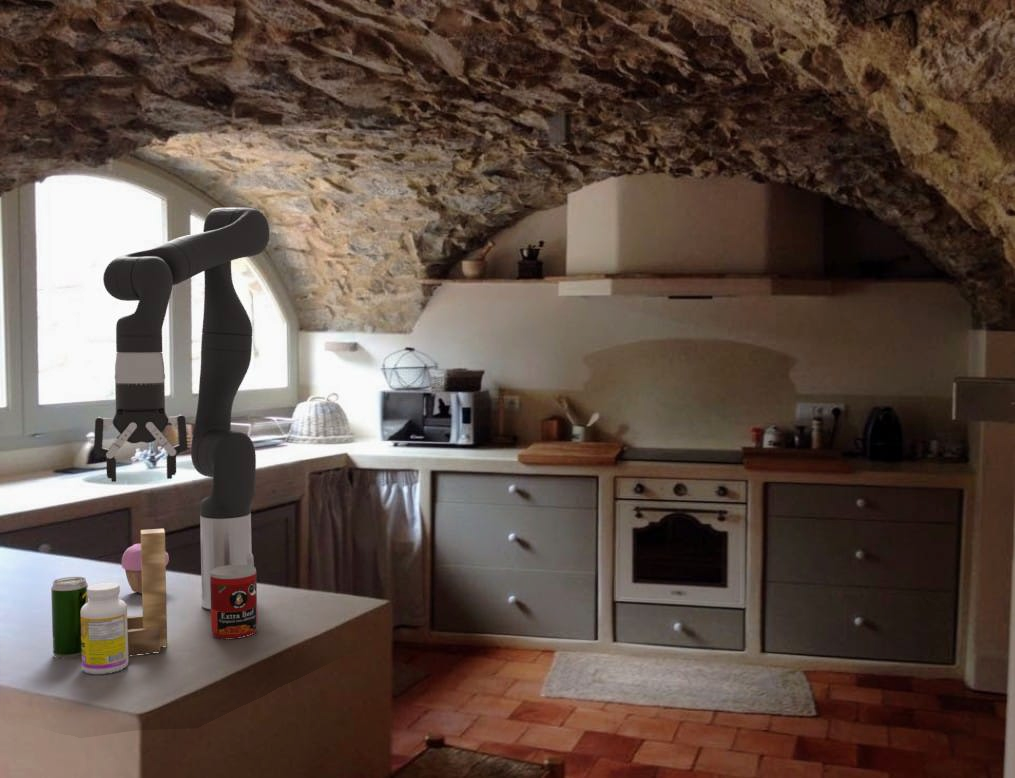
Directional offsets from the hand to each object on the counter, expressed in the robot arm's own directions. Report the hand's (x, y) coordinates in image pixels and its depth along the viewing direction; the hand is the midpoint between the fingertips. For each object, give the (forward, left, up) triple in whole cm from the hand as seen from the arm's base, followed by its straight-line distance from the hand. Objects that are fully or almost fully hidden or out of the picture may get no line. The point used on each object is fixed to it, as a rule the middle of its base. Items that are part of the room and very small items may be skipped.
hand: (141, 479), depth 162 cm
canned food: (-15, -2, -28) cm, 31 cm away
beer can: (+11, 0, -28) cm, 30 cm away
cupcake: (-2, -37, -28) cm, 46 cm away
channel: (+3, 0, -28) cm, 28 cm away
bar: (-2, 0, -28) cm, 28 cm away
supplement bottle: (+6, +9, -28) cm, 30 cm away
